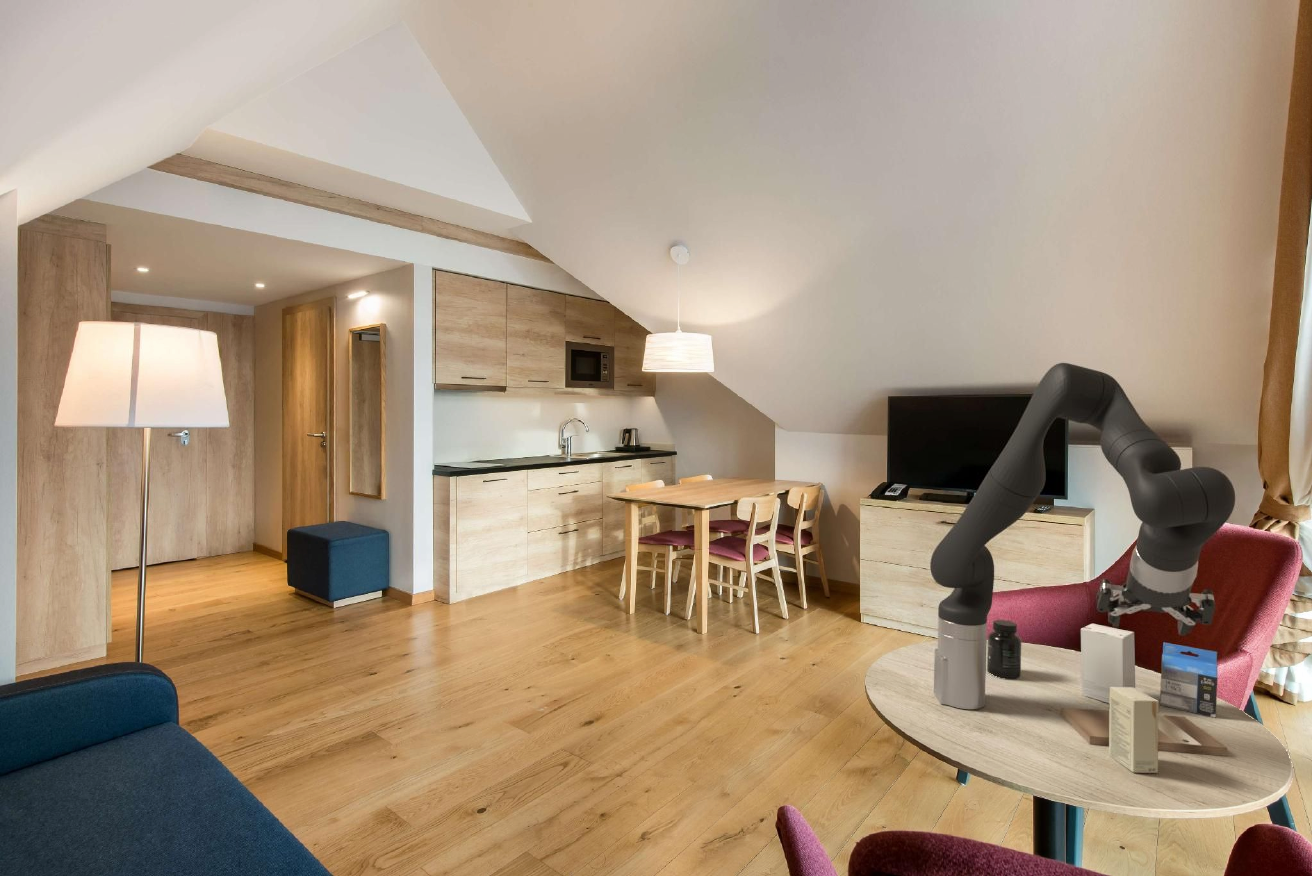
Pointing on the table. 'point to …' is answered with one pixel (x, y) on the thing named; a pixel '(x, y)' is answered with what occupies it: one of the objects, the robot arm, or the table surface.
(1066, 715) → the subfloor panel
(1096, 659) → the skincare box
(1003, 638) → the supplement bottle
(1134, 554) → the robot arm
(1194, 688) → the label tape cartridge
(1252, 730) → the table surface
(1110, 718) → the skincare box
